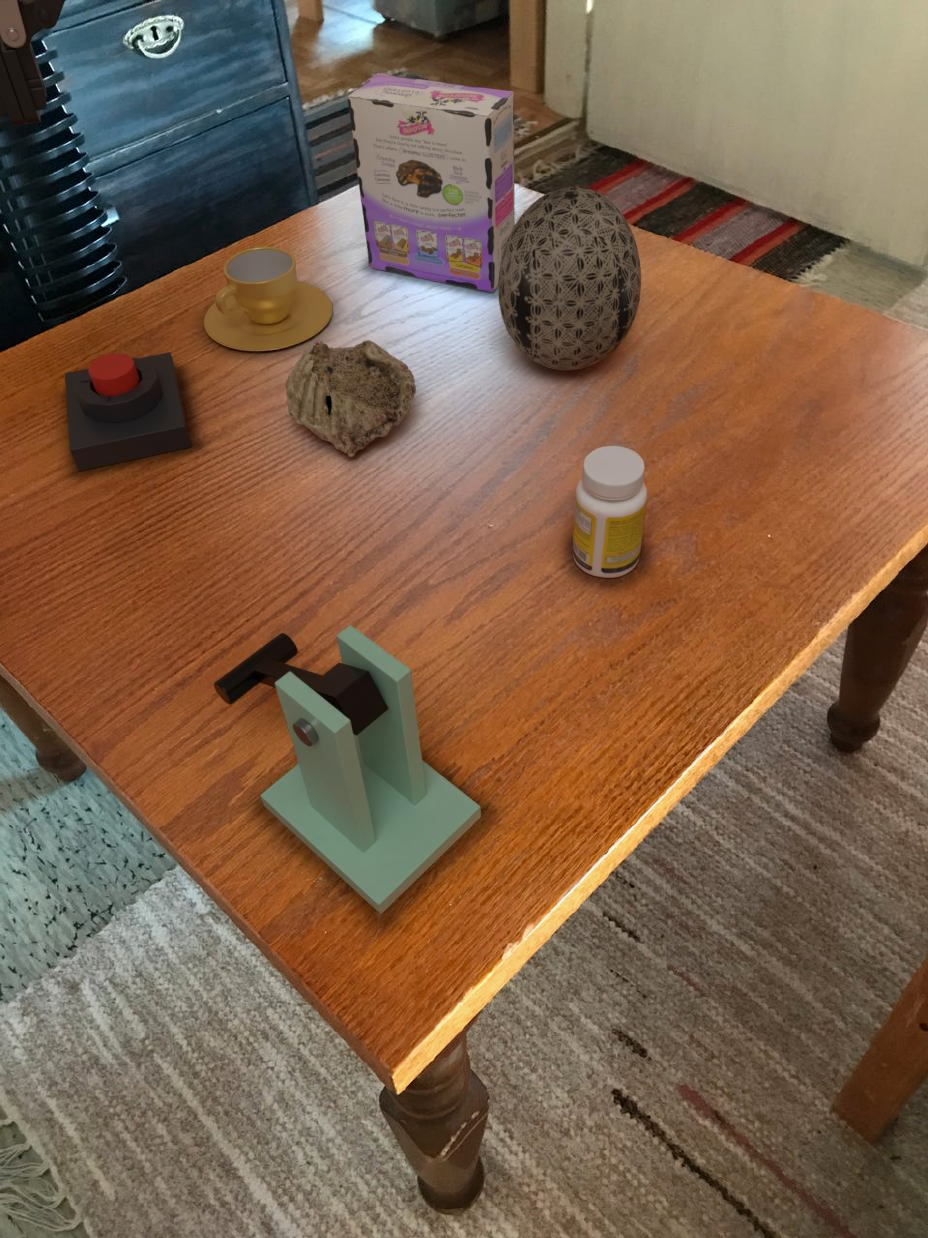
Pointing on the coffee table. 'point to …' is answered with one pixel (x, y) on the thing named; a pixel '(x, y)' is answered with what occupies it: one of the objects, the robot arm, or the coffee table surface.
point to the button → (113, 374)
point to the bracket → (366, 783)
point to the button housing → (126, 416)
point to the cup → (265, 303)
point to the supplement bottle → (609, 512)
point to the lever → (307, 682)
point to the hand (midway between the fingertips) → (27, 118)
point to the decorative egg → (569, 279)
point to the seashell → (349, 393)
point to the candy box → (435, 177)
